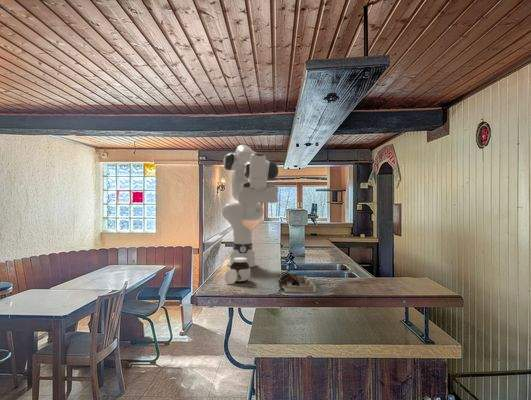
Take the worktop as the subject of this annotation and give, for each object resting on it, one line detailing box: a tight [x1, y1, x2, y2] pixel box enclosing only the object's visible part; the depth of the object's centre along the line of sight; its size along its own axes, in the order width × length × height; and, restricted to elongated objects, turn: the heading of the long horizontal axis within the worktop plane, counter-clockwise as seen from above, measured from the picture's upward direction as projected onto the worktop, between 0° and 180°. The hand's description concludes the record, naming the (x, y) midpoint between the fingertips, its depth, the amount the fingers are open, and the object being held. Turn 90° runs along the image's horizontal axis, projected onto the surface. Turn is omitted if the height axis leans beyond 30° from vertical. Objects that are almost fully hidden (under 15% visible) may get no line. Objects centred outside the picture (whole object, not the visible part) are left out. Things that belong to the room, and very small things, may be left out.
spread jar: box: [224, 257, 251, 285], centre depth 174 cm, size 12×11×12 cm
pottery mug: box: [277, 272, 301, 289], centre depth 164 cm, size 12×10×8 cm
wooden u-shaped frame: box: [277, 275, 317, 293], centre depth 167 cm, size 20×15×3 cm
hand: (257, 211), depth 179 cm, fingers closed
